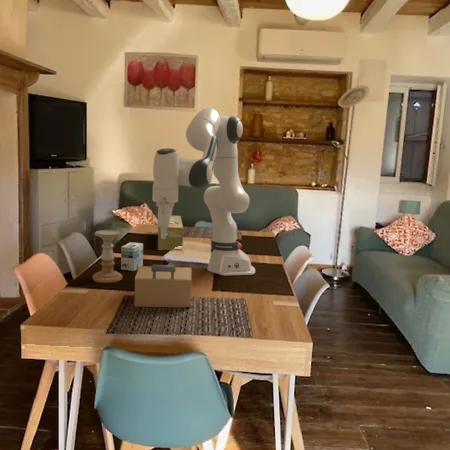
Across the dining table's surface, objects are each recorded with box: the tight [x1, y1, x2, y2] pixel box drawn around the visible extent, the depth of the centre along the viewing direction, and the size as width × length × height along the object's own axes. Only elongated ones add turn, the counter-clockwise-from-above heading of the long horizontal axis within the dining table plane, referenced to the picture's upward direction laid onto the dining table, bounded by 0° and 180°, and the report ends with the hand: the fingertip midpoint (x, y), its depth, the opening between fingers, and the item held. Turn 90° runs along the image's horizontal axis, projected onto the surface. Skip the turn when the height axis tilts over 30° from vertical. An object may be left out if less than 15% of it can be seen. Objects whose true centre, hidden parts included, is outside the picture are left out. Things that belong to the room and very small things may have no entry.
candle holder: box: [92, 229, 123, 284], centre depth 194 cm, size 12×12×20 cm
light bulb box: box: [120, 241, 144, 272], centre depth 213 cm, size 11×7×11 cm, turn 168°
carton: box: [134, 279, 192, 308], centre depth 174 cm, size 20×15×10 cm
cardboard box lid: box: [134, 264, 192, 282], centre depth 172 cm, size 20×16×6 cm
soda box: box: [157, 215, 184, 251], centre depth 268 cm, size 40×14×13 cm, turn 7°
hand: (164, 235), depth 162 cm, fingers open, 8 cm apart
